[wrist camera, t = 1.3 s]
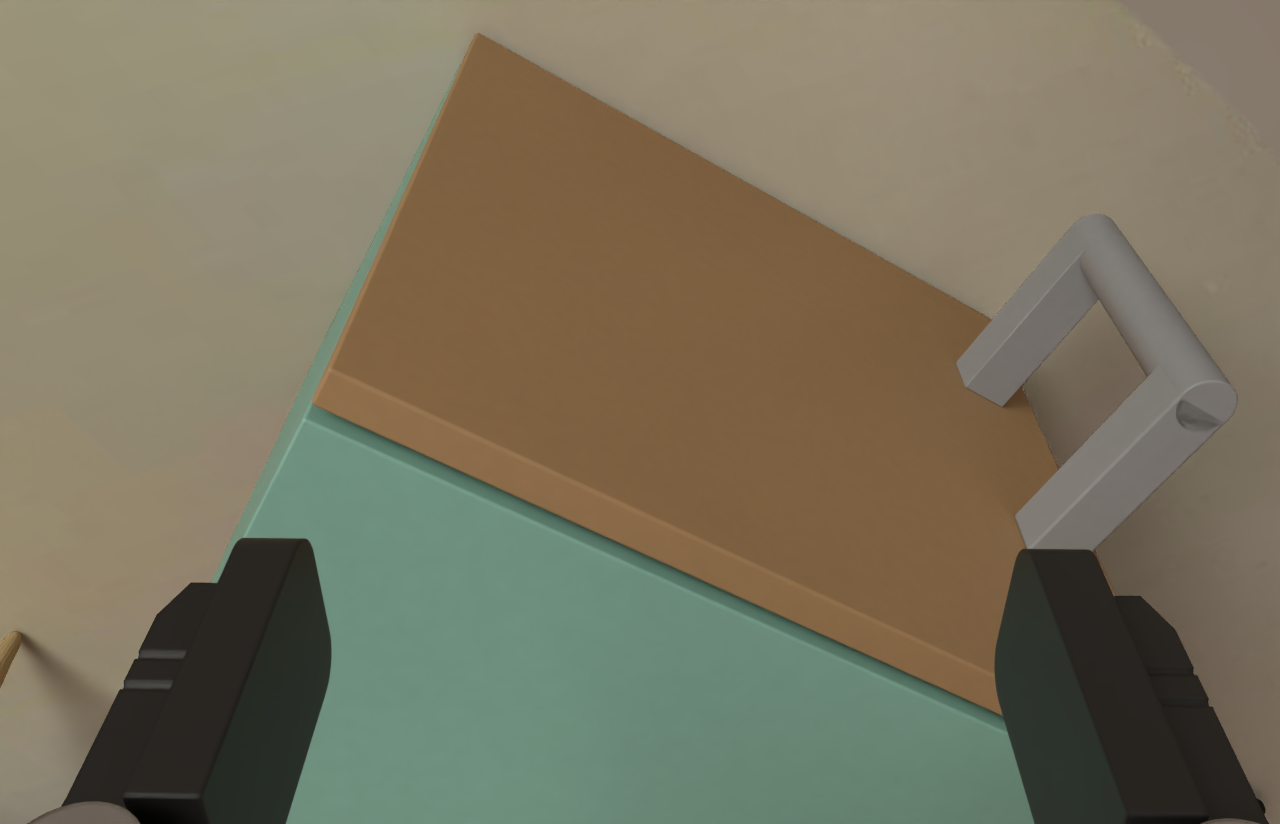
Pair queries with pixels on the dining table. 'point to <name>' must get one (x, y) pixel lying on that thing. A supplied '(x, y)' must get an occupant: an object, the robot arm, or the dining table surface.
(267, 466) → the green cabinet
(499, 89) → the wooden cabinet door
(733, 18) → the dining table surface
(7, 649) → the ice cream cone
